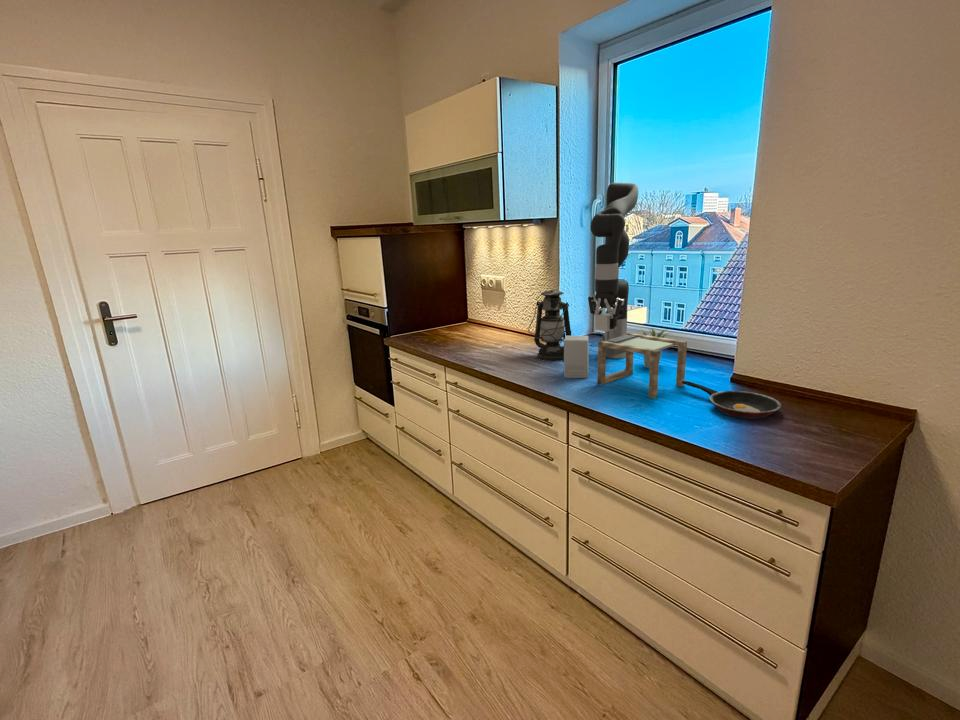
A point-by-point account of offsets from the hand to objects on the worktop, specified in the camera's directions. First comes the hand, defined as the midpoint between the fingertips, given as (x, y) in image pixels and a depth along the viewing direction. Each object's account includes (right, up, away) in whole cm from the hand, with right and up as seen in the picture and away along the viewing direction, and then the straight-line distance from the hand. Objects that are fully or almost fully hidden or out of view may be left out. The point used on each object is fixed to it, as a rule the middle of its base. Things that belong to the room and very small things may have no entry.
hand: (605, 327), depth 162 cm
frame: (+15, -20, +10) cm, 27 cm away
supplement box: (-5, -17, +26) cm, 31 cm away
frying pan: (+34, -25, -12) cm, 44 cm away
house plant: (+28, -14, +31) cm, 44 cm away
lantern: (-11, -10, +51) cm, 54 cm away
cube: (0, 0, 0) cm, 1 cm away
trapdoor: (+14, -9, +8) cm, 18 cm away
